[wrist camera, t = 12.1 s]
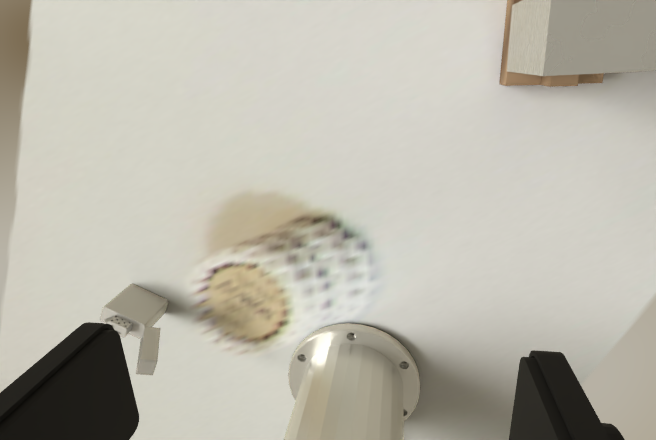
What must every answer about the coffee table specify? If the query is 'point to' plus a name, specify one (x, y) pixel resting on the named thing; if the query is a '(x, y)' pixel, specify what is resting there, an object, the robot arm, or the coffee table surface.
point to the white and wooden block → (582, 37)
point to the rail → (528, 79)
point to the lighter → (137, 322)
